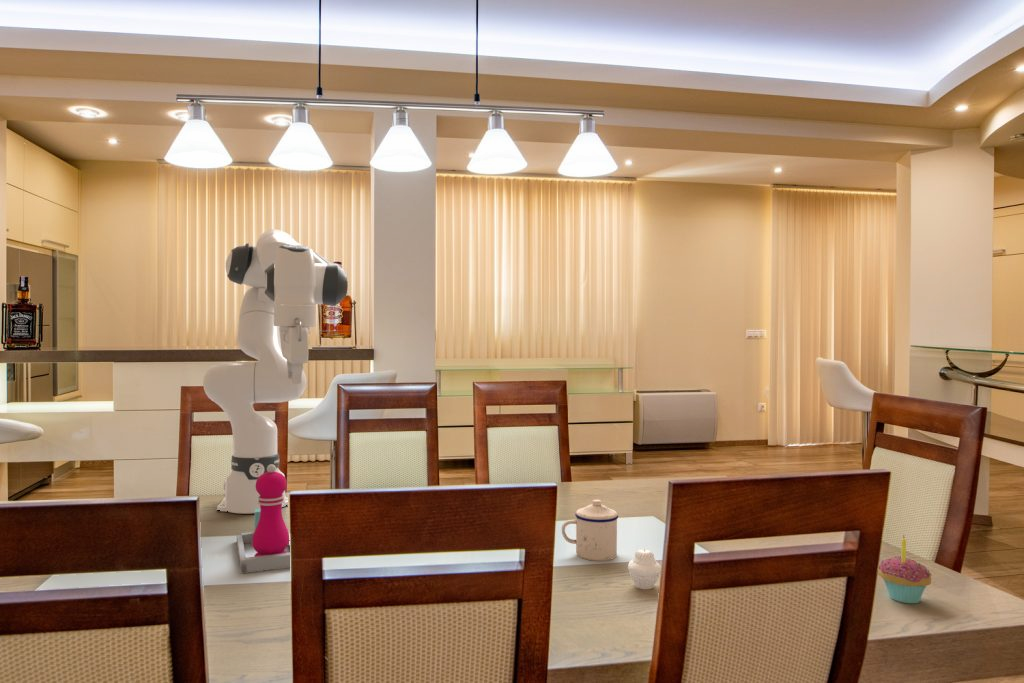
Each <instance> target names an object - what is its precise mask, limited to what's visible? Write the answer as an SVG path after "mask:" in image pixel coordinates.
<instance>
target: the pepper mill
mask: <svg viewBox="0 0 1024 683" xmlns="http://www.w3.org/2000/svg"><path fill="white" fill-rule="evenodd" d="M275 470H276V467H275V465H273V464H270V465H269V466H268V467H267V471H268V472H266V473H264V474H262V475H260V476H259V477H258V479H257V481H256V491H257V492H258V493H259V495H260V496H259V497H258V499H259V502H258V504H259V505H260V510H261V511H260V519H259V522H258V525H257V527H256V529H255V532H254V531H253V532H254V534H253V538H252V542H251V546H252V548H253V550H255V552H256V553H255V554H254V556H253V557H255V556H264V555H273V554H281V553H288V552H287V551H286V550H285V549H286V548H287V547H288V546H289V541H290V540H289V533H288V527H287V525H286V523H285V520H284V518H283V517H284V516H283V511H282V508H283V507H282V503H283V502H284V500H283V499H284V495H282V494H283V492H284V491H285V492H286V489H287V486H288V485H287V479H286V476H285V477H284V475H285V474H284V475H282V474H281V473H279V472H275Z"/></svg>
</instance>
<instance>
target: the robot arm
mask: <svg viewBox="0 0 1024 683" xmlns="http://www.w3.org/2000/svg"><path fill="white" fill-rule="evenodd" d="M225 270H226V271H225V272H226V276H227V278H228V280H229V281H230V282H233V283H235V284H237V285H238V284H239V285H244V286H248V287H250V288H249V289H247V291H246V292H245V293H244V295H243V297H242V302H241V306H240V309H239V316H238V326H237V327H238V328H237V339H236V340H237V342H236V344H237V345H238V347H239V348H240V350H241V351H242V352H243V353H244V354H245V355H247V356H249V357H251V358H253V359H255V360H257V361H229V362H221V363H217V364H213V365H211V366H210V367H209V368H208V369H207V370H206V372H205V373H204V376H203V381H202V384H203V385H202V386H203V390H204V393H205V394H206V396H207V398H208V399H209V400H211V401H212V402H214V403H215V404H216V405H217V406H219V407H220V408H221V409H222V411H223V412H224V413H225V415H226V416H227V418H228V420H229V423H230V427H231V430H232V431H231V433H232V443H233V444H232V445H233V446H232V447H233V450H232V453H233V454H232V456H231V460H230V464H231V472H230V474H229V475H227V477H226V478H225V481H223V491H224V493H223V499H222V500H221V502H220V503H219V504H217V507H216V511H217V510H220V511H219V512H227V511H228V512H227V513H232V514H244V515H245V514H255V509H259V508H260V505H259V504H258V502H259V499H258V497H259V496H260V495H259V493H258V492H257V491H256V481H257V479H258V477H259V476H260V475H262V474H264V473H266V472H268V471H267V467H268V466H269V465H270V464H273V465H275V467H276V470H275V472H279V473H281V474H282V475H284V477H285V478H286V476H285V474H284V473H283V472H282V471H281V470H280V468H279V467H280V454H279V452H278V427H277V426H278V425H277V424H276V423H275V421H274V420H272V419H270V418H269V417H267V416H265V415H262V414H260V413H258V412H257V411H256V410H255V408H254V404H262V403H263V404H266V403H267V404H271V403H274V404H275V403H279V404H280V403H284V402H285V403H287V402H291V401H296V400H299V399H300V398H301V397H302V395H303V394H304V392H305V391H306V387H307V385H308V384H307V382H308V381H307V376H306V373H305V370H304V364H307V363H308V361H309V334H310V333H311V331H310V329H311V327H316V325H317V324H316V318H317V315H316V314H317V313H316V312H317V307H316V306H317V305H323V306H324V305H325V306H330V307H331V306H332V307H336V306H338V304H340V303H341V302H342V301H343V300H344V299H345V298H346V296H347V294H348V287H349V284H348V282H349V281H348V276H347V273H346V271H345V270H344V268H343V267H342V266H341V265H340V264H338V263H334V262H333V263H331V262H330V261H329V260H327V259H326V258H325V257H324V256H322V255H321V254H319V253H317V252H315V251H314V250H313V248H310V247H309V246H307V245H302V244H300V243H299V242H297V241H296V240H295V239H294V237H293V236H291V235H290V234H289V233H288V232H286V231H284V230H281V229H276V228H275V229H268V230H266V231H264V232H263V233H262V234H261V235H260V236H259V238H258V239H257V241H256V245H255V246H253V245H250V243H245V245H239V246H236V247H234V248H232V249H231V250H230V253H229V254H228V255H227V257H226V260H225ZM282 495H284V499H283V500H284V502H283V503H282V508H283V507H288V506H289V505H288V498H289V497H287V496H286V490H285V491H284V492H283V494H282ZM286 505H287V506H286Z"/></svg>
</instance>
